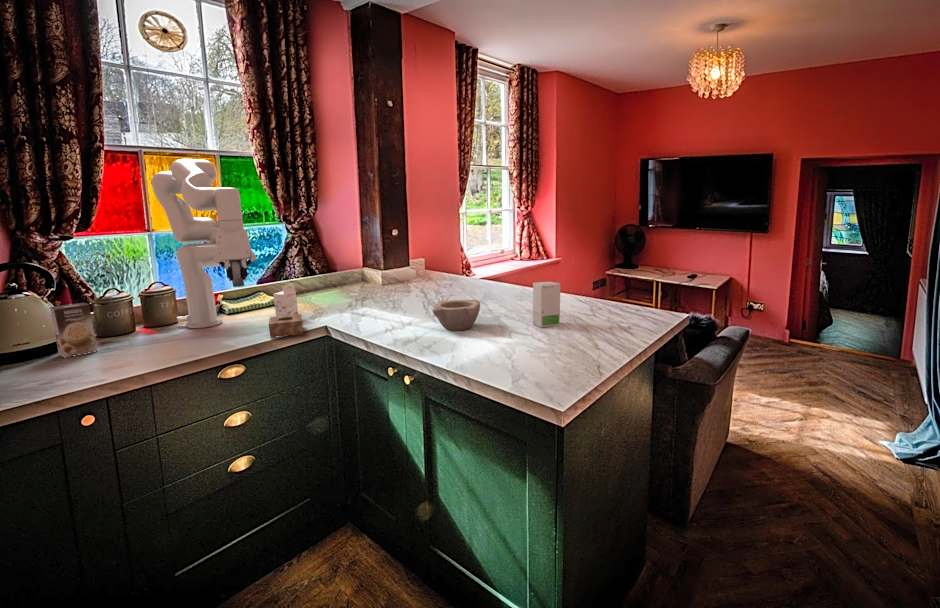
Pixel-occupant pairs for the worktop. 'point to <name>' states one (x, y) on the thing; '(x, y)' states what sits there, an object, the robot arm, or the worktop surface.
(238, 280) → the peg
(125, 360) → the worktop surface
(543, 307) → the skincare box
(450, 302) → the mortar
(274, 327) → the socket block
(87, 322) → the coffee box
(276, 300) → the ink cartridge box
